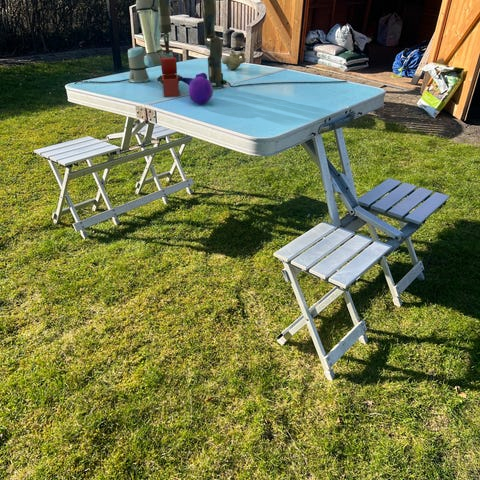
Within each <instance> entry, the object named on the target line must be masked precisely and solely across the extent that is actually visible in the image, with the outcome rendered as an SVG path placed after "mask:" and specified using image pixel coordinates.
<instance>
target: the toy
mask: <svg viewBox="0 0 480 480" xmlns="http://www.w3.org/2000/svg"><path fill="white" fill-rule="evenodd" d="M178 79H179V80H180V81H179V82H182V83H184V84H186V85H188V96H189V98H190V100H191V101H192V102H193V103H195V104H198V105H205V104H207V103H208V102H209V101H210V100H211V99H212V97H213V94H214V89H213V88H212V84H211V83H210V81H209V79H208V74H206V73H205V72H201V73H197V74H196V75H195V77H193V78H192V77H183V78H178Z"/></svg>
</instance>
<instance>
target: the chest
mask: <svg viewBox="0 0 480 480" xmlns="http://www.w3.org/2000/svg"><path fill="white" fill-rule="evenodd" d="M177 75H178V73H177V74H166V75H164V74H162V75H161V76H162V81H163V84H162V89H163V97H164V98H174V97H180V87H179V85H180V84H179V83H178V76H177Z"/></svg>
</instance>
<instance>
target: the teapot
mask: <svg viewBox="0 0 480 480" xmlns="http://www.w3.org/2000/svg"><path fill="white" fill-rule="evenodd" d="M240 57H241V59H240ZM245 61H246V56H245V53H244V52H243V51H240V52H238V53H237V54H236V52H235V50H233V49H232V50H231V51H230V53H229V56H224V57H222V58H221V64H223V65H225V66H226V68H227V69H228V70H230V71H234V70H237V69H238V68H239V67H240V66H241V64H244V63H245Z"/></svg>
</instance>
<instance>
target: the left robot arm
mask: <svg viewBox="0 0 480 480" xmlns="http://www.w3.org/2000/svg"><path fill="white" fill-rule="evenodd" d="M170 5H171V0H169V6H170ZM158 6H159V0H136V1H135V9H136V13H137V15H138V16H139V18H138V19H139V23H140V27H141V33H142V38H143V44H144V47H143V46H134V47H131V48H129V49H127V57H128V66H129V76H128V78H125V79H121V80H120V79H119V80H108V81H97V80H95V81H93V80H85V81H84V80H76V81H75V82H74V83H73V85H76V84H78V83H87V84H88V83H90V84H91V83H93V84H111V83H121V82H127V81H128V82H129V83H133V84H141V83H148V82H150V76H149V74H148V71H147V67H148V68H151V67H158V66H161V60H160V58H163V53H162V50H164V49H163V47H162V45H161V36H162V32H160V30H159V20H158V18H159V16H158ZM164 58H172V52H170V53H169V54H166V53H164ZM163 75H166V74H163ZM177 76H178V78H184V77H183V76H182V75H180V74H177ZM156 80H157V83H160V84H162V85H163V81H162V75H161V74H160V75H159V76H158V77H157V79H156ZM83 81H84V82H83ZM88 81H89V82H88ZM180 82H181V81H180V80H179V79H178V84H179V83H180Z"/></svg>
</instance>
